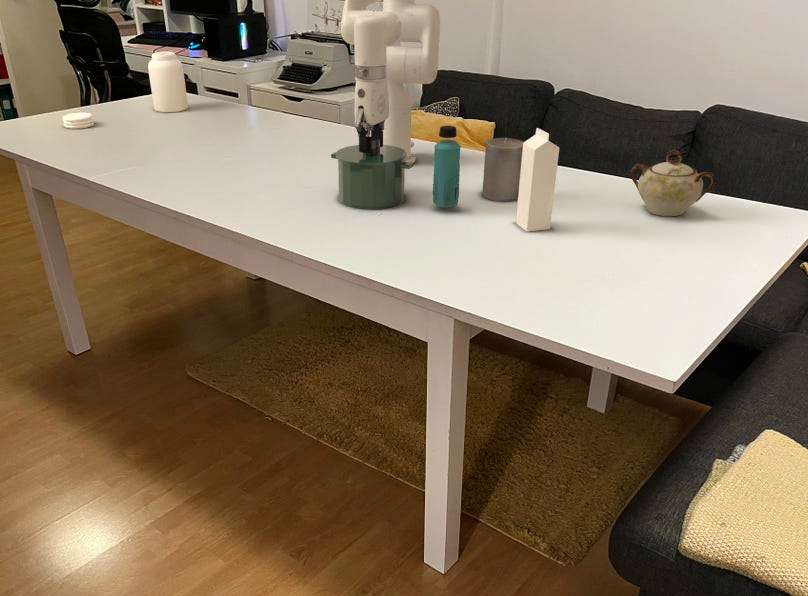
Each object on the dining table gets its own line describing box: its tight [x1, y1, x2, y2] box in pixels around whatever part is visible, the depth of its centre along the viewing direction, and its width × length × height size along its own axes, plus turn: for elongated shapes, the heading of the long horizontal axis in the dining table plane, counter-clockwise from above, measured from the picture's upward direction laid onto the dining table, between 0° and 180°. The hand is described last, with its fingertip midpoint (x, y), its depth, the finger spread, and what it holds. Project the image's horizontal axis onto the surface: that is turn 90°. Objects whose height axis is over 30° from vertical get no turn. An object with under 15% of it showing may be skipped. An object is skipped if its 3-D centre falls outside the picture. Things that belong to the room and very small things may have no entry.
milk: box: [515, 127, 560, 233], centre depth 169 cm, size 6×6×22 cm
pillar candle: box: [481, 136, 525, 202], centre depth 190 cm, size 10×10×15 cm
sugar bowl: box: [629, 149, 716, 217], centre depth 180 cm, size 20×15×15 cm
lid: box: [335, 136, 407, 166], centre depth 186 cm, size 18×18×5 cm
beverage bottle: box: [432, 125, 461, 208], centre depth 180 cm, size 6×7×20 cm
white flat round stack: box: [61, 112, 95, 130], centre depth 259 cm, size 10×10×4 cm
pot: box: [330, 151, 414, 210], centre depth 189 cm, size 17×22×11 cm
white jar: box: [147, 51, 189, 113], centre depth 277 cm, size 12×12×20 cm
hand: (371, 148), depth 186 cm, fingers open, 5 cm apart
